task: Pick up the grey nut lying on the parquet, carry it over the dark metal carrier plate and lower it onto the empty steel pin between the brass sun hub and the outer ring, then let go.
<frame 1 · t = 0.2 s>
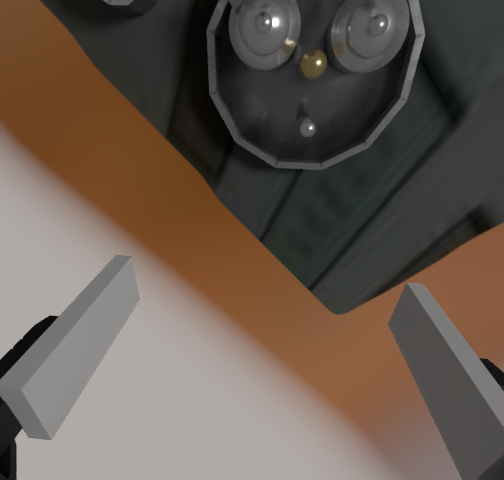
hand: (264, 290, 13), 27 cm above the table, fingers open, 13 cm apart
carrier: (306, 67, 32), on the table
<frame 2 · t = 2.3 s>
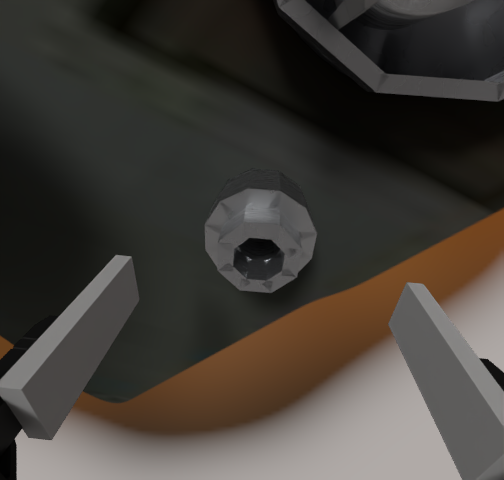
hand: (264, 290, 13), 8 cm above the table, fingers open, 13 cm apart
grey nut: (261, 214, 20), on the table
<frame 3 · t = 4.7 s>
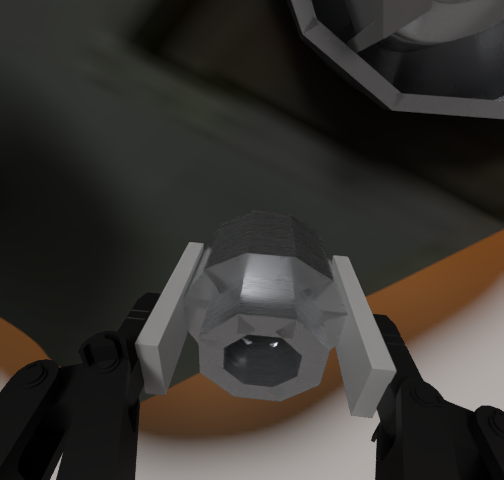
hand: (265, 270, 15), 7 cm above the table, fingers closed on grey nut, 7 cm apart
grey nut: (265, 267, 15), point 7 cm above the table, touching gripper
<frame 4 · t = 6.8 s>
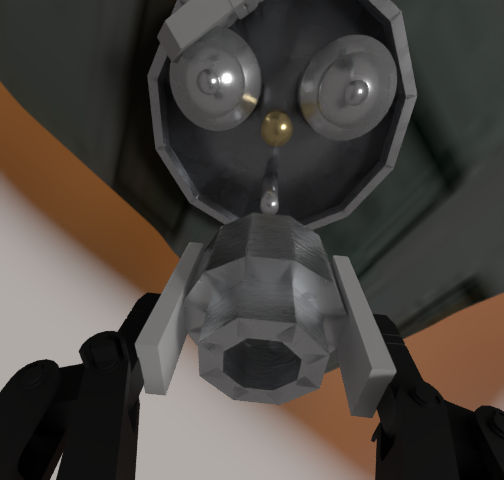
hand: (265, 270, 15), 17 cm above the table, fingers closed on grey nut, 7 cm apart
carrier: (276, 120, 26), on the table
grey nut: (265, 270, 15), point 16 cm above the table, touching gripper
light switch: (248, 13, 23), resting on carrier
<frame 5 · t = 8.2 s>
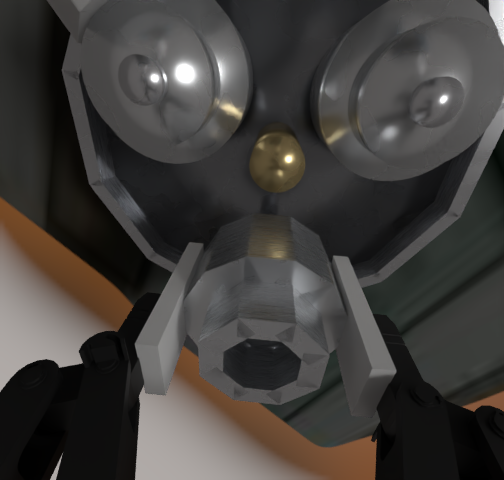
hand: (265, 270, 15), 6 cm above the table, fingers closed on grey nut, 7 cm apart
carrier: (276, 139, 17), on the table
grey nut: (265, 270, 15), point 6 cm above the table, touching gripper
when the fingers open (2 cm above the table, at t = 9.2 s): grey nut stays where it is, resting on carrier.
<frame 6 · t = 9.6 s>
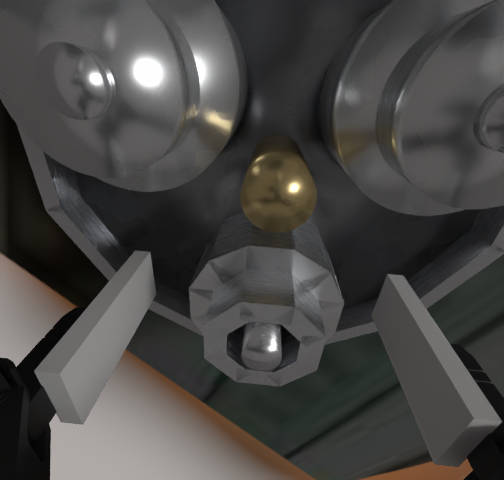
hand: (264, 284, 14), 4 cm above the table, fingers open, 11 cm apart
carrier: (276, 153, 14), on the table
grey nut: (266, 261, 16), point 1 cm above the table, touching carrier
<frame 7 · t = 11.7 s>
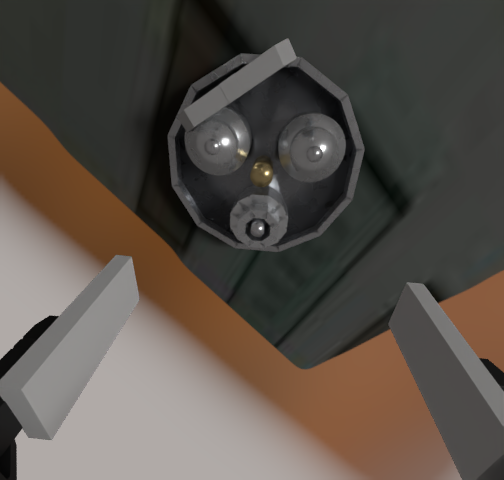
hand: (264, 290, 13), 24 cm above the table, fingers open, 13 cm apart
carrier: (263, 162, 35), on the table
grey nut: (260, 210, 36), point 1 cm above the table, touching carrier
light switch: (241, 90, 31), resting on carrier
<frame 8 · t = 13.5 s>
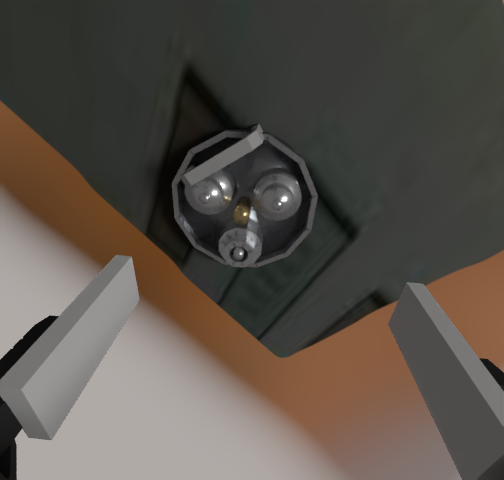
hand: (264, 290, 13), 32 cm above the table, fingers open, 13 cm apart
carrier: (245, 200, 45), on the table
grey nut: (242, 235, 47), point 1 cm above the table, touching carrier
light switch: (227, 149, 41), resting on carrier
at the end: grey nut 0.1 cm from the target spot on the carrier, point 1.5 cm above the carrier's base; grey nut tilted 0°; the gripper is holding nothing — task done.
